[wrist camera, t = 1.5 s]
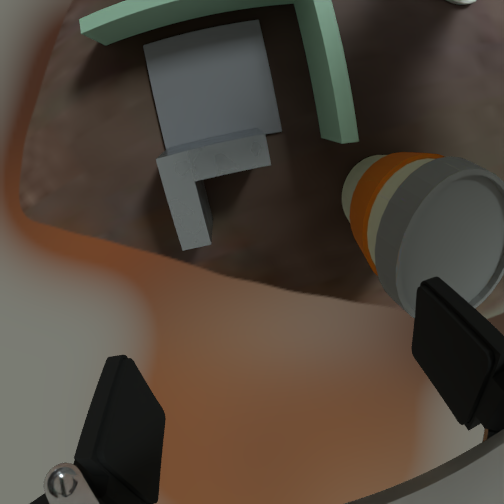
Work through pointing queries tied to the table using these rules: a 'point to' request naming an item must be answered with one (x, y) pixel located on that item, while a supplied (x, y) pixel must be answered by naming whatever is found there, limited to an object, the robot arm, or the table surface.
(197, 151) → the bracket
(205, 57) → the mat
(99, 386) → the robot arm
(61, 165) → the table surface
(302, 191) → the table surface
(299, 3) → the corner walls
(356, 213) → the reusable coffee cup
